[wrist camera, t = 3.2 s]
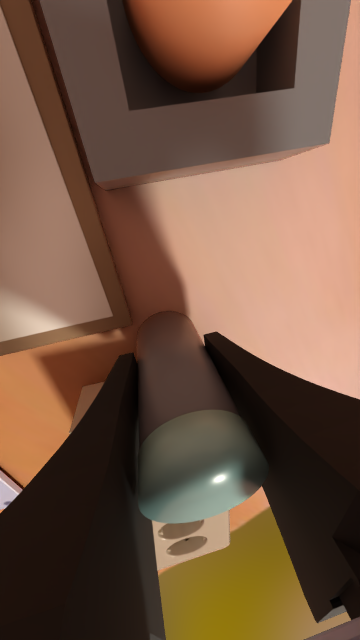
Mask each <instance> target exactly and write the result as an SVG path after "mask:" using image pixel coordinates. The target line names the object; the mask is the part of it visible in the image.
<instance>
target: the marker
mask: <svg viewBox="0 0 360 640" xmlns="http://www.w3.org/2000/svg"><path fill="white" fill-rule="evenodd" d="M137 370H138V414H139V452H138V505H139V509H140V511H141V513H142V514H143V515H144V516H145V517H147V518H148V519H150V520H153V521H156V522H161V523H169V524H177V523H188V522H194V521H199V520H203V519H206V518H210V517H213V516H215V515H218V514H221V513H223V512H225V511H228V510H230V509H232V508H234V507H235V506H237V505H239V504H241V503H242V502H244V501H245V500H247V499H248V498H249V497H251V496H252V495H253V494H254V493H255V492H256V491H257V490H258V489H259V488H260V487H261V486H262V484H263V483H264V482H265V480H266V478H267V476H268V472H269V465H268V462H267V460H266V458H265V456H264V455H263V453H262V451H261V449H260V447H259V445H258V443H257V441H256V439H255V438H254V436H253V434H252V432H251V430H250V428H249V426H248V425H247V423H246V421H245V420H244V419H243V418H242V417H241V415H240V413H239V411H238V409H237V407H236V405H235V403H234V401H233V399H232V398H231V396H230V394H229V392H228V390H227V388H226V386H225V384H224V382H223V380H222V378H221V376H220V375H219V373H218V371H217V369H216V367H215V365H214V363H213V361H212V359H211V357H210V355H209V353H208V352H207V350H206V348H205V346H204V344H203V342H202V340H201V338H200V336H199V334H198V332H197V330H196V329H195V327H194V325H193V323H192V322H191V320H190V319H189V318H188V317H186V316H185V315H183V314H181V313H178V312H172V311H166V312H160V313H157V314H155V315H153V316H151V317H149V318H148V319H147V320H146V321H144V322H143V324H142V325H141V327H140V328H139V331H138V334H137Z"/></svg>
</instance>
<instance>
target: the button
mask: <svg viewBox="0 0 360 640" xmlns="http://www.w3.org/2000/svg"><path fill="white" fill-rule="evenodd" d="M122 2H123V6H124V10H125V13H126V17H127V20H128V23H129V26H130V28H131V31H132V33H133V36H134V38H135V40H136V42H137V44H138V46H139V48H140V50H141V52H142V53H143V55H144V56H145V58H146V60H147V61H148V62H149V64H150V65H151V66H152V67H153V69H154V70H155V71H156V72H157V73H158V74H159V75H160V76H161V77H162V78H163V79H164V80H166V81H167V82H168V83H170V84H171V85H173V86H175V87H177V88H178V89H181V90H184V91H187V92H192V93H205V92H210V91H213V90H215V89H218V88H220V87H222V86H223V85H225V84H226V83H228V82H229V81H230V80H231V79H232V78H233V77H234V76H235V75H236V74H237V73H238V72H239V71H240V69H241V68H242V67H243V65H244V64H245V63H246V61H247V60H248V59H249V57H250V56H251V55H252V53H253V52H254V51H255V49H256V48H257V47H258V45H259V44H260V43H261V42H262V40H263V39H264V38H265V36H266V35H267V34H268V32H269V31H270V30H271V28H272V27H273V26H274V24H275V23H276V22H277V20H278V19H279V18H280V16H281V15H282V14H283V12H284V11H285V10H286V8H287V7H288V6H289V4H290V3H291V2H292V0H122Z"/></svg>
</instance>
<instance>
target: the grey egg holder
mask: <svg viewBox="0 0 360 640" xmlns="http://www.w3.org/2000/svg"><path fill="white" fill-rule="evenodd" d="M39 1H40V4H41V7H42V11H43V14H44V17H45V21H46V24H47V27H48V30H49V34H50V37H51V40H52V44H53V47H54V50H55V53H56V57H57V60H58V63H59V67H60V70H61V73H62V77H63V80H64V83H65V86H66V90H67V93H68V96H69V100H70V103H71V106H72V110H73V113H74V116H75V119H76V123H77V126H78V129H79V133H80V136H81V139H82V143H83V146H84V149H85V152H86V156H87V159H88V162H89V166H90V169H91V172H92V175H93V179H94V182H95V183H96V184H97V185H99V186H100V187H101V188H103V189H104V190H111V189H117V188H123V187H128V186H134V185H140V184H146V183H152V182H157V181H163V180H169V179H175V178H181V177H186V176H192V175H198V174H204V173H210V172H215V171H221V170H227V169H233V168H239V167H244V166H250V165H256V164H262V163H268V162H273V161H279V160H283V159H286V158H288V157H291V156H294V155H297V154H300V153H303V152H306V151H309V150H312V149H314V148H317V147H320V146H323V145H326V144H329V142H330V135H331V128H332V122H333V115H334V109H335V102H336V95H337V89H338V82H339V75H340V69H341V62H342V56H343V49H344V42H345V36H346V29H347V23H348V16H349V9H350V3H351V0H292V2H291V3H290V4H289V6H288V7H287V8H286V10H285V11H284V12H283V14H282V15H281V16H280V18H279V19H278V20H277V22H276V23H275V24H274V26H273V27H272V28H271V30H270V31H269V32H268V34H267V35H266V36H265V38H264V39H263V40H262V42H261V43H260V44H259V45H258V47H257V48H256V49H255V51H254V52H253V53H252V55H251V56H250V57H249V59H248V60H247V61H246V63H245V64H244V65H243V67H242V68H241V69H240V71H239V72H238V73H237V74H236V75H235V76H234V77H233V78H232V79H231V80H230V81H229V82H228V83H226V84H225V85H223V86H222V87H220V88H218V89H215V90H213V91H210V92H205V93H192V92H187V91H184V90H181V89H178V88H177V87H175V86H173V85H171V84H170V83H168V82H167V81H166V80H164V79H163V78H162V77H161V76H160V75H159V74H158V73H157V72H156V71H155V70H154V69H153V67H152V66H151V65H150V64H149V62H148V61H147V60H146V58H145V56H144V55H143V53H142V52H141V50H140V48H139V46H138V44H137V42H136V40H135V38H134V36H133V33H132V31H131V28H130V26H129V23H128V20H127V17H126V13H125V10H124V6H123V2H122V0H39Z"/></svg>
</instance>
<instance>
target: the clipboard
mask: <svg viewBox="0 0 360 640" xmlns="http://www.w3.org/2000/svg"><path fill="white" fill-rule="evenodd" d="M130 325H132V319H131V316H130V312H129V309H128V306H127V303H126V300H125V297H124V293H123V290H122V287H121V284H120V281H119V278H118V274H117V271H116V268H115V265H114V262H113V258H112V255H111V252H110V249H109V246H108V243H107V239H106V236H105V233H104V230H103V227H102V224H101V220H100V217H99V214H98V211H97V208H96V205H95V201H94V198H93V195H92V192H91V189H90V186H89V182H88V179H87V176H86V173H85V170H84V167H83V163H82V160H81V157H80V154H79V151H78V148H77V144H76V141H75V138H74V135H73V132H72V128H71V125H70V122H69V119H68V116H67V113H66V109H65V106H64V103H63V100H62V97H61V94H60V90H59V87H58V84H57V81H56V78H55V75H54V71H53V68H52V65H51V62H50V59H49V56H48V52H47V49H46V46H45V43H44V40H43V37H42V33H41V30H40V27H39V24H38V21H37V18H36V14H35V11H34V8H33V5H32V2H31V0H0V356H2V355H6V354H11V353H15V352H19V351H23V350H28V349H32V348H36V347H40V346H45V345H49V344H53V343H57V342H62V341H66V340H70V339H74V338H79V337H83V336H87V335H91V334H96V333H100V332H104V331H108V330H113V329H117V328H121V327H125V326H130Z"/></svg>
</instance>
